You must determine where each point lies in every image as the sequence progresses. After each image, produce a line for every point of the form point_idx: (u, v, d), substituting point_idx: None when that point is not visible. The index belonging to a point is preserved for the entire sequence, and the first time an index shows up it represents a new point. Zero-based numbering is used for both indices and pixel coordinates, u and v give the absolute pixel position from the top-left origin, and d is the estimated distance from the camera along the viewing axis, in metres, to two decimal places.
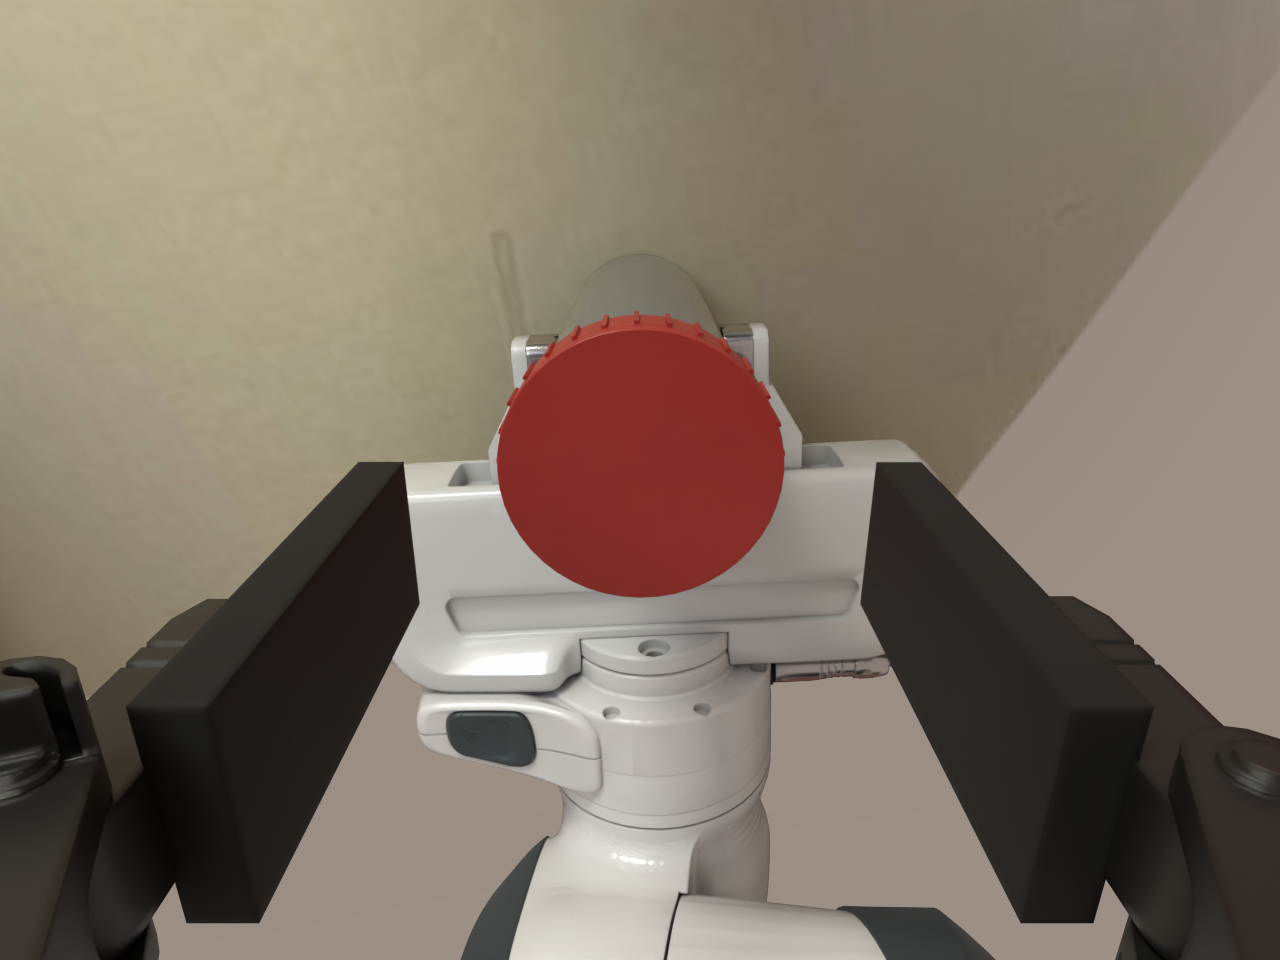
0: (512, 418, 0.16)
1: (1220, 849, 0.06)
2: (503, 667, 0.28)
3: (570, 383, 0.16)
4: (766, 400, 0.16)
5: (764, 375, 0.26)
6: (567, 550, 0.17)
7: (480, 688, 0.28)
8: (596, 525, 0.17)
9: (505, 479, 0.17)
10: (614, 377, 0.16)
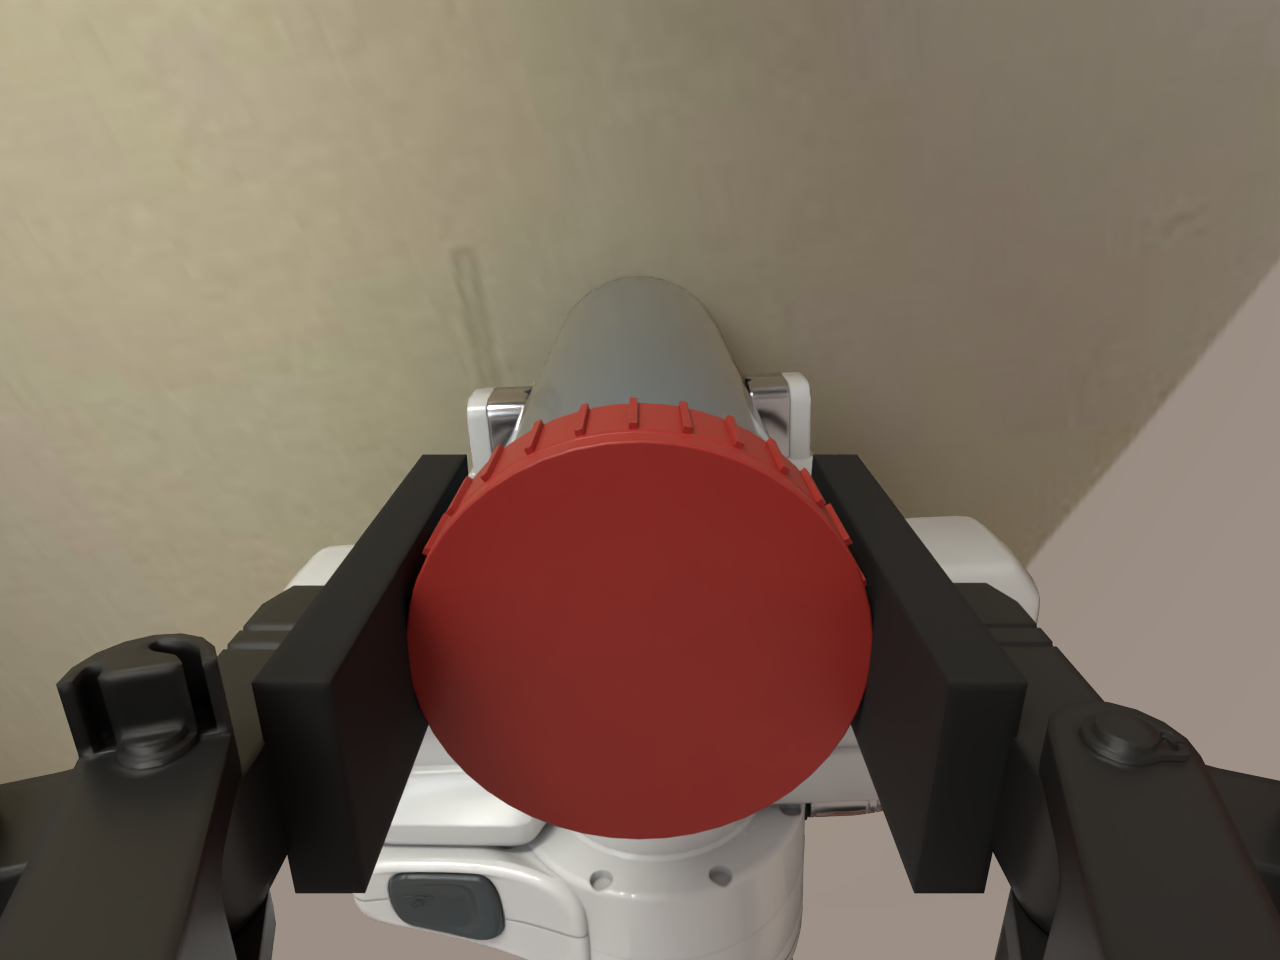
0: (428, 581, 0.10)
1: (1081, 821, 0.06)
2: (461, 815, 0.22)
3: (522, 527, 0.10)
4: (847, 553, 0.10)
5: (804, 443, 0.20)
6: (523, 774, 0.11)
7: (432, 841, 0.22)
8: (569, 738, 0.11)
9: (421, 671, 0.10)
10: (596, 518, 0.10)
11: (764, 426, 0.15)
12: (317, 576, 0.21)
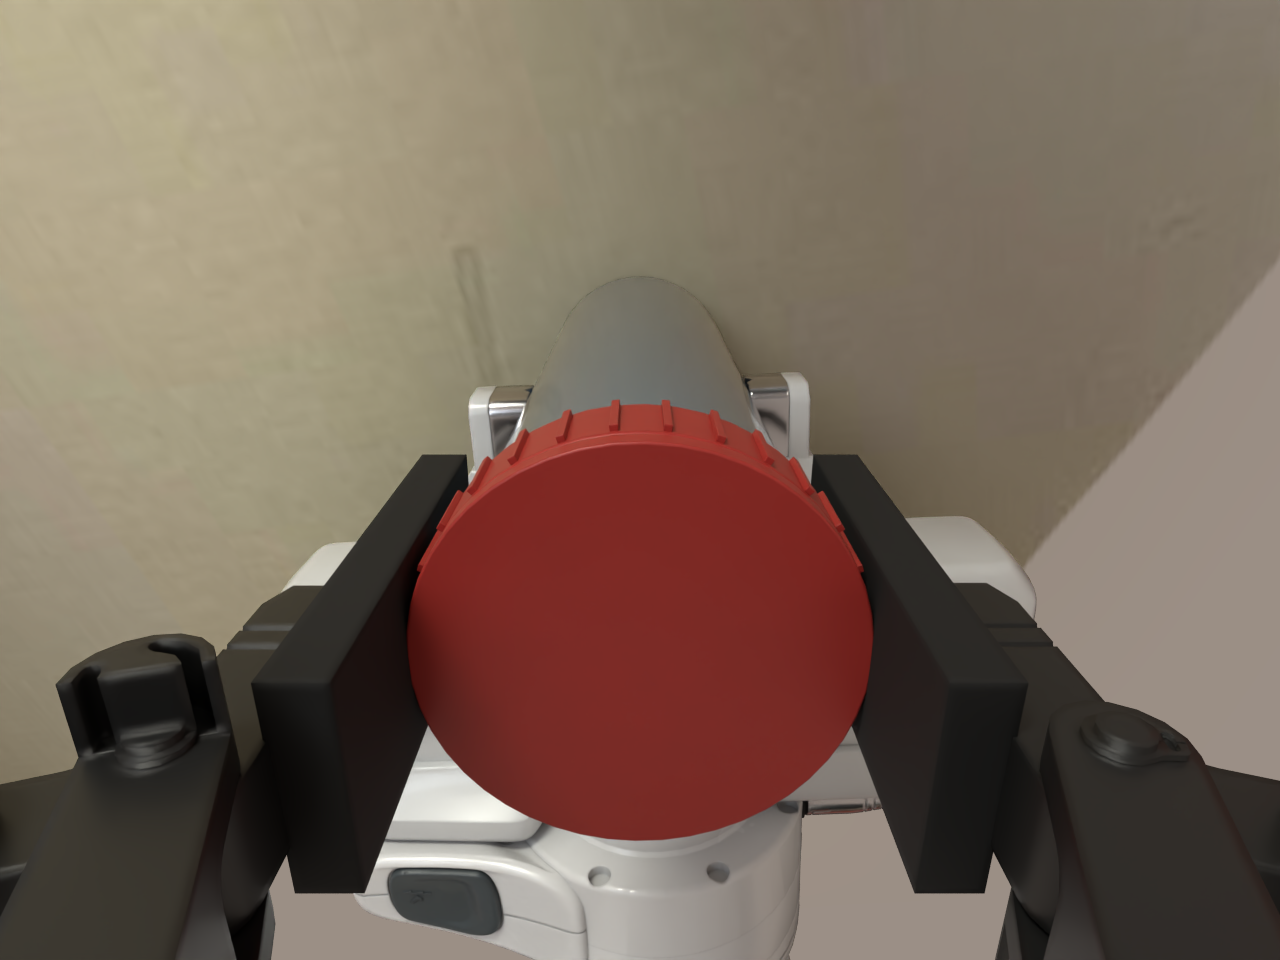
0: (604, 830, 0.11)
1: (1082, 821, 0.06)
2: (461, 811, 0.22)
3: (530, 775, 0.11)
4: (463, 513, 0.10)
5: (803, 443, 0.20)
6: (800, 733, 0.11)
7: (431, 837, 0.22)
8: (747, 703, 0.11)
9: (700, 824, 0.11)
10: (502, 726, 0.11)
11: (764, 425, 0.15)
12: (318, 572, 0.21)
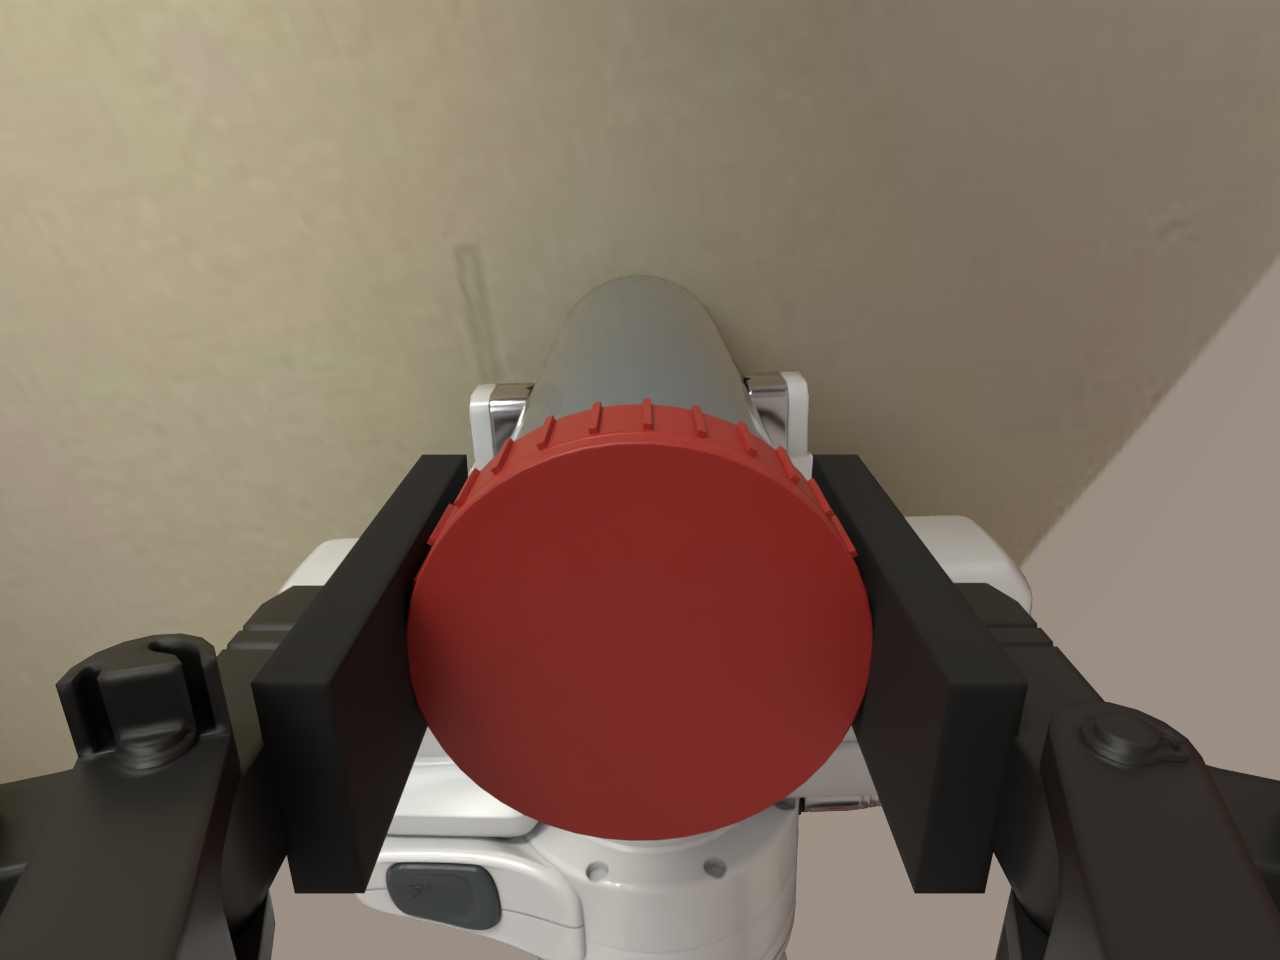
0: (862, 650, 0.10)
1: (1082, 821, 0.06)
2: (459, 806, 0.22)
3: (799, 728, 0.11)
4: (530, 816, 0.11)
5: (801, 442, 0.20)
6: (687, 494, 0.09)
7: (430, 832, 0.22)
8: (662, 557, 0.10)
9: (838, 559, 0.10)
10: (743, 759, 0.11)
11: (763, 423, 0.15)
12: (319, 568, 0.22)
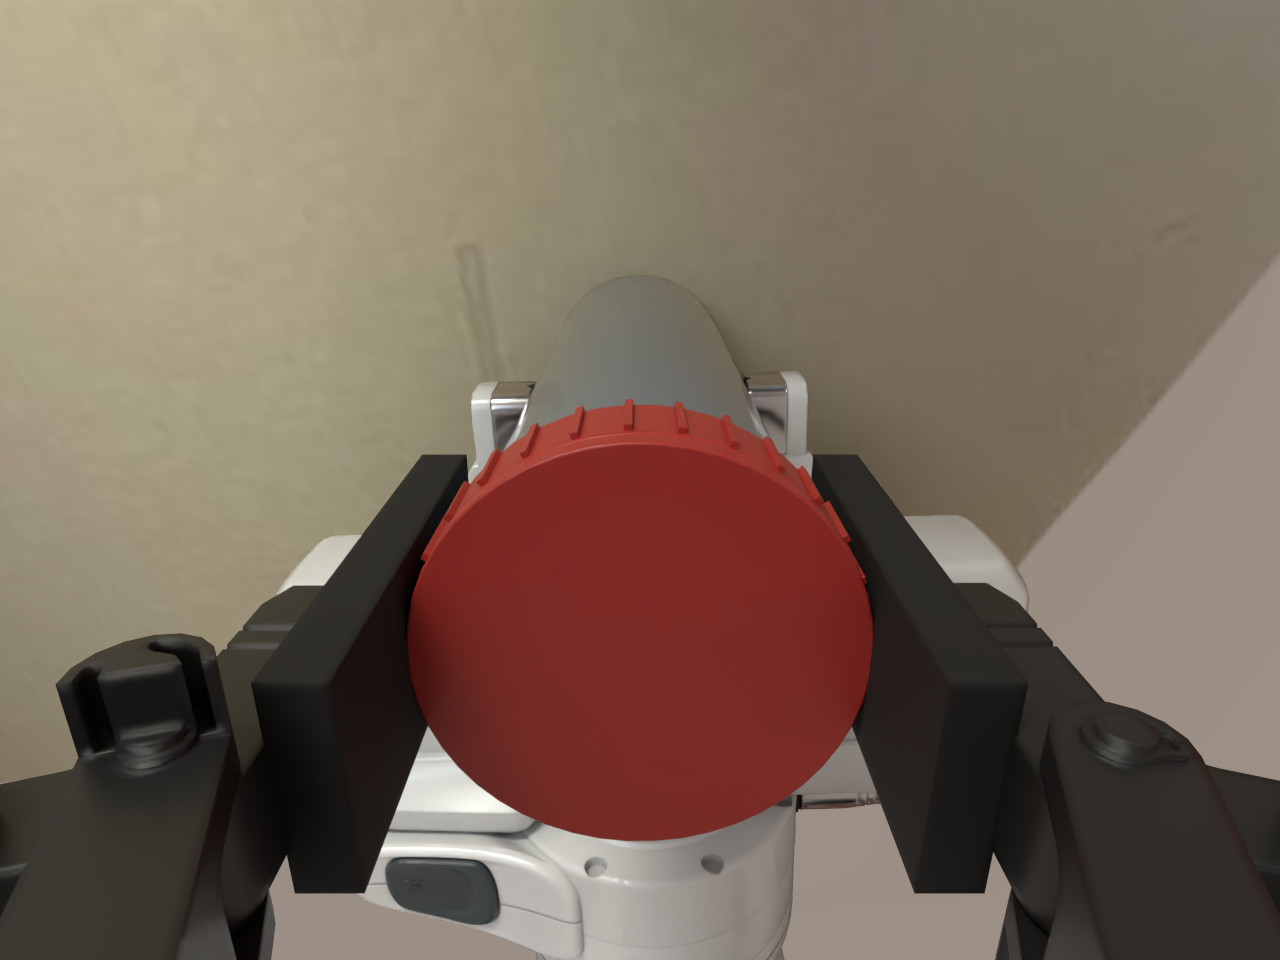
0: (566, 464, 0.09)
1: (1082, 821, 0.06)
2: (459, 801, 0.22)
3: (681, 497, 0.09)
4: (854, 718, 0.11)
5: (800, 441, 0.20)
6: (452, 665, 0.10)
7: (429, 827, 0.22)
8: (520, 670, 0.10)
9: (472, 520, 0.10)
10: (736, 541, 0.10)
11: (762, 422, 0.15)
12: (320, 565, 0.22)
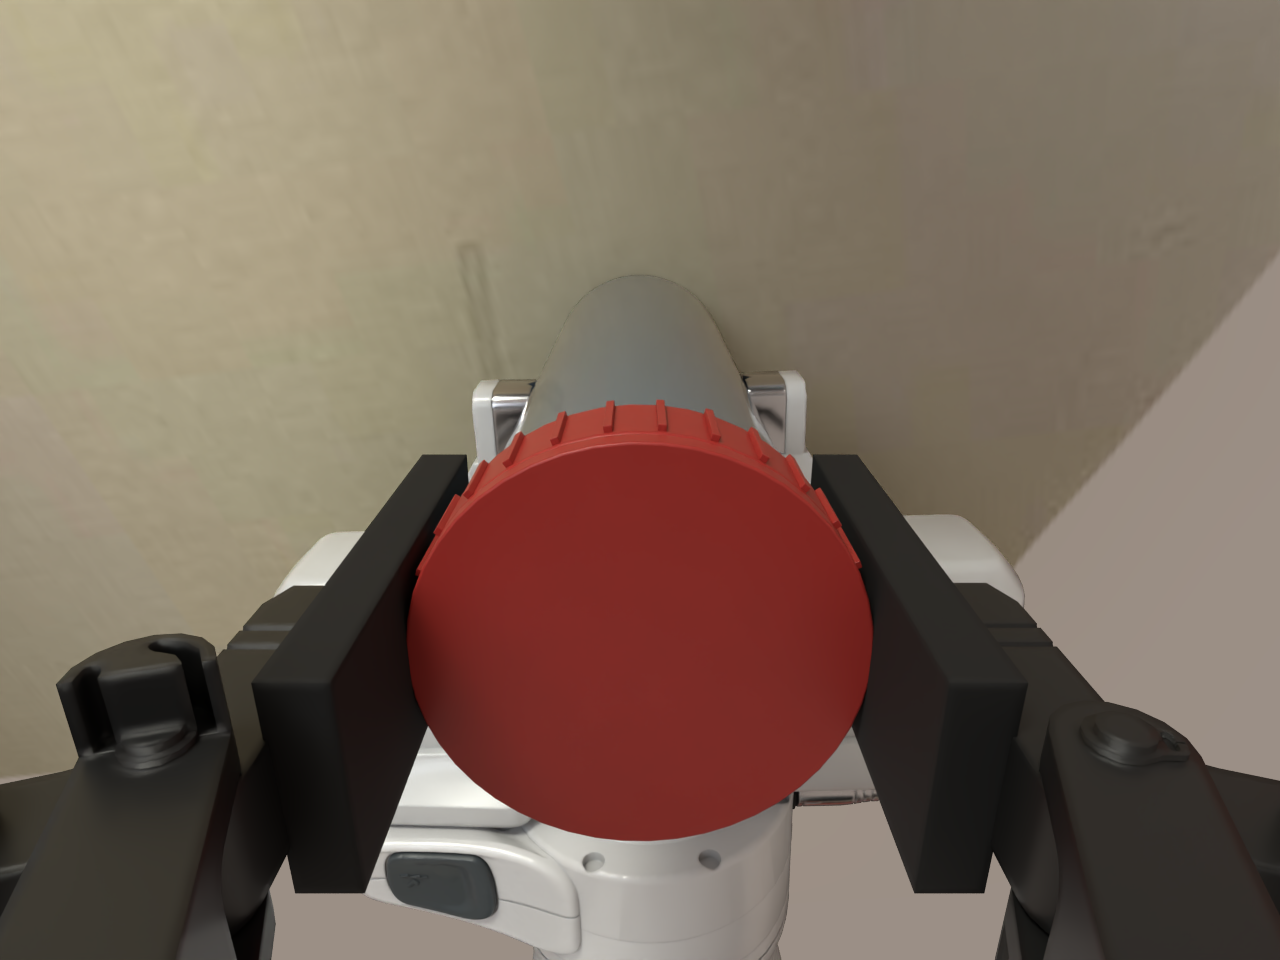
0: (459, 756, 0.11)
1: (1082, 821, 0.06)
2: (458, 796, 0.22)
3: (456, 668, 0.10)
4: (654, 444, 0.09)
5: (799, 440, 0.20)
6: (682, 806, 0.11)
7: (428, 822, 0.22)
8: (674, 755, 0.11)
9: (535, 809, 0.11)
10: (483, 614, 0.10)
11: (761, 420, 0.15)
12: (321, 560, 0.22)
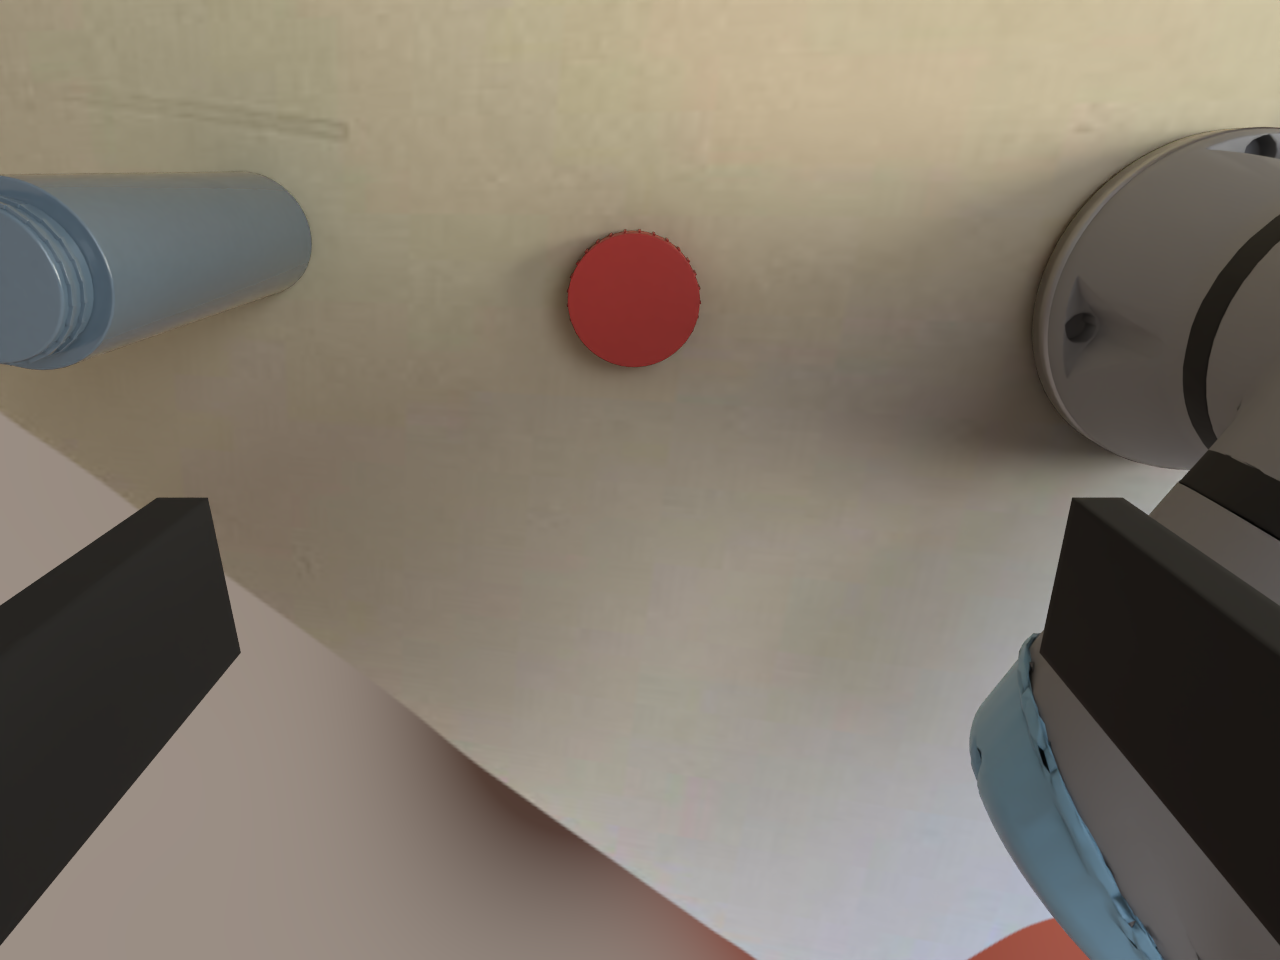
0: (581, 335, 0.37)
1: None
2: None
3: (581, 304, 0.36)
4: (637, 234, 0.35)
5: None
6: (646, 353, 0.37)
7: None
8: (644, 334, 0.37)
9: (602, 355, 0.37)
10: (590, 286, 0.36)
11: None
12: None
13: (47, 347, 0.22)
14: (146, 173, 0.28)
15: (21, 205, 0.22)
